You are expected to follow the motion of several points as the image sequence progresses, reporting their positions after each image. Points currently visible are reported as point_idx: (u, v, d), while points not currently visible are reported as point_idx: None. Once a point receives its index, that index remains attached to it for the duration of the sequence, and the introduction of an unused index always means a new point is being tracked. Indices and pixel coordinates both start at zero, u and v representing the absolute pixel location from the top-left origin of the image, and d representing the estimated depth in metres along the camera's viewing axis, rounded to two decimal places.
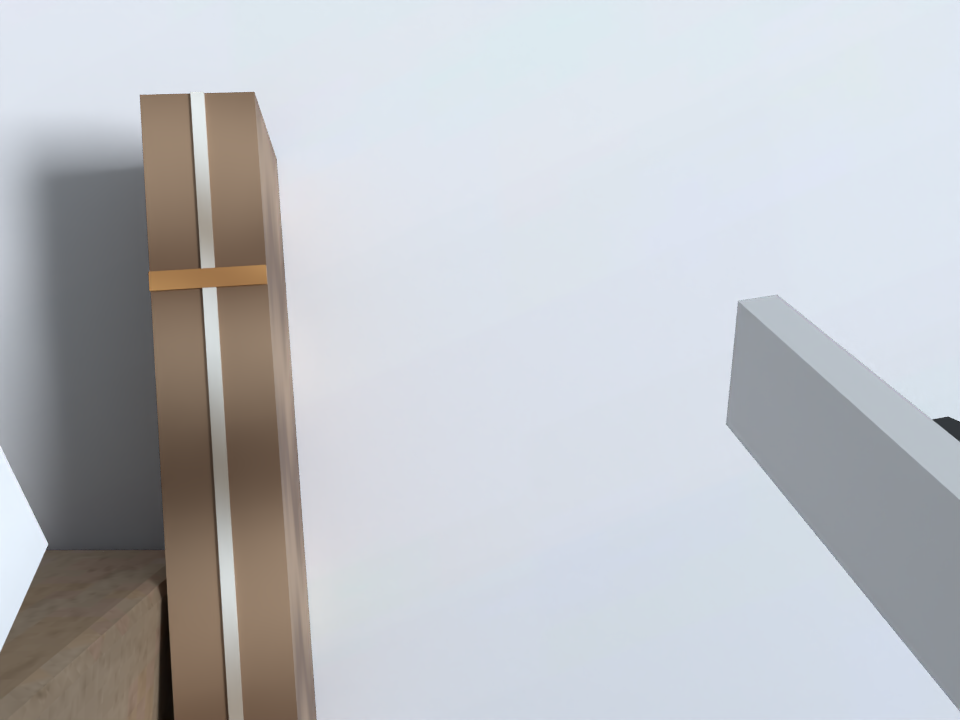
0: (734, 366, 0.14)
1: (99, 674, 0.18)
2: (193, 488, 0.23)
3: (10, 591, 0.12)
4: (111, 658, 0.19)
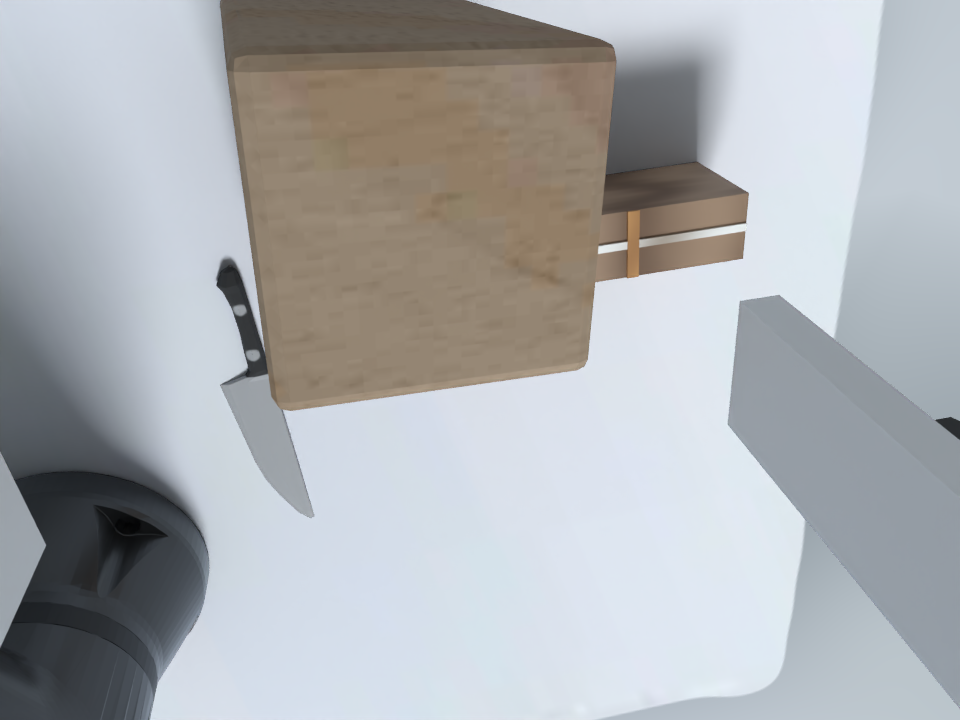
0: (735, 366, 0.14)
1: None
2: None
3: (8, 592, 0.12)
4: None
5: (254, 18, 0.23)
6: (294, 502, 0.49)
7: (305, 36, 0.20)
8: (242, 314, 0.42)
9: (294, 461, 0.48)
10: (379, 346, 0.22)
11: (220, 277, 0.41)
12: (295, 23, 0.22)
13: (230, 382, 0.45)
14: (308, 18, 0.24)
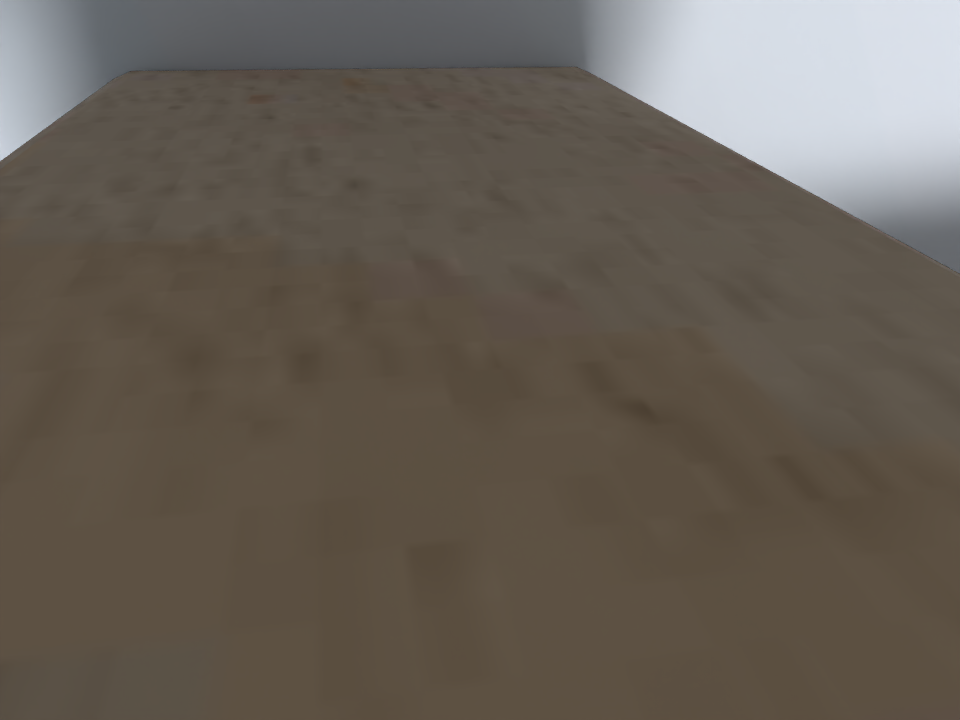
0: None
1: None
2: None
3: None
4: None
5: None
6: None
7: None
8: None
9: None
10: None
11: None
12: None
13: None
14: (43, 420, 0.04)
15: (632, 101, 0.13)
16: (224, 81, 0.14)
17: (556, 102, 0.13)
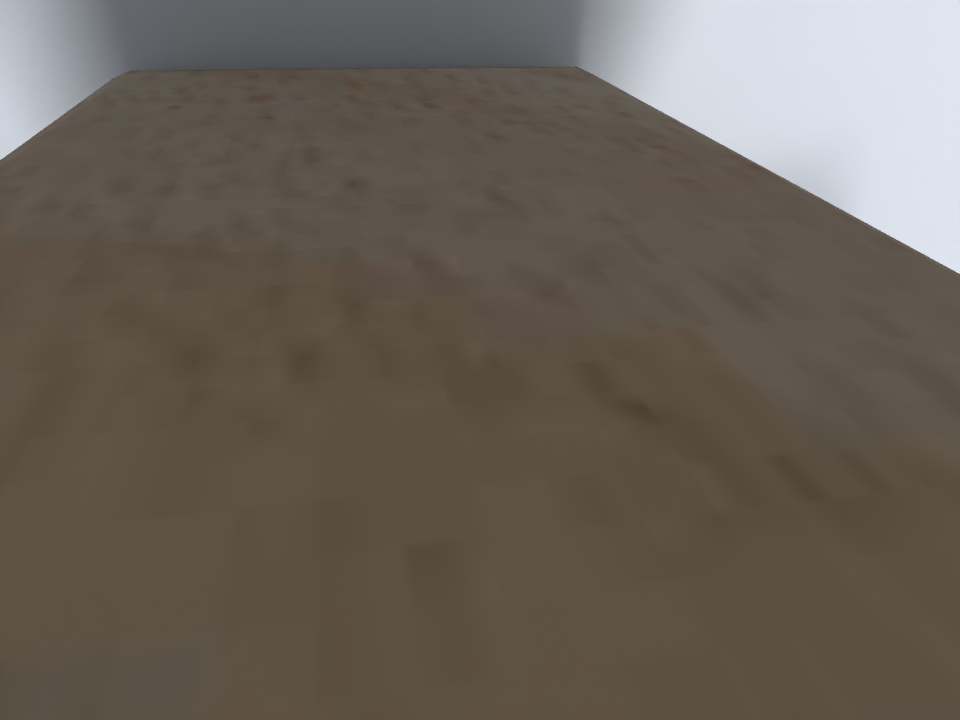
0: None
1: None
2: None
3: None
4: None
5: None
6: None
7: None
8: None
9: None
10: None
11: None
12: None
13: None
14: (41, 420, 0.04)
15: (631, 101, 0.13)
16: (223, 81, 0.14)
17: (555, 102, 0.13)
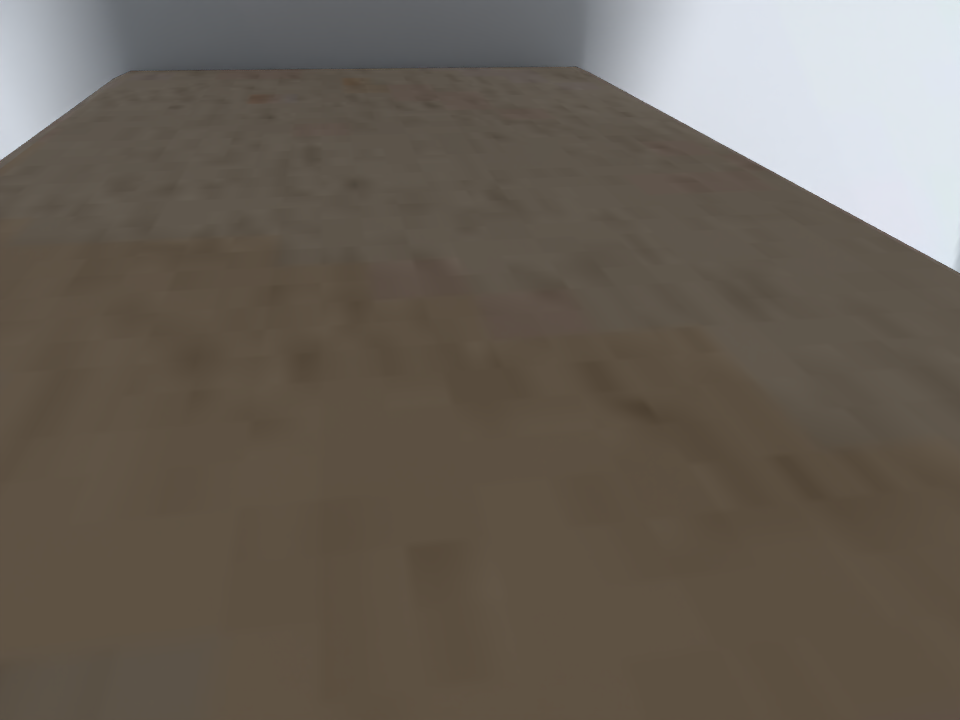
0: None
1: None
2: None
3: None
4: None
5: None
6: None
7: None
8: None
9: None
10: None
11: None
12: None
13: None
14: (43, 420, 0.04)
15: (632, 101, 0.13)
16: (224, 81, 0.14)
17: (556, 102, 0.13)
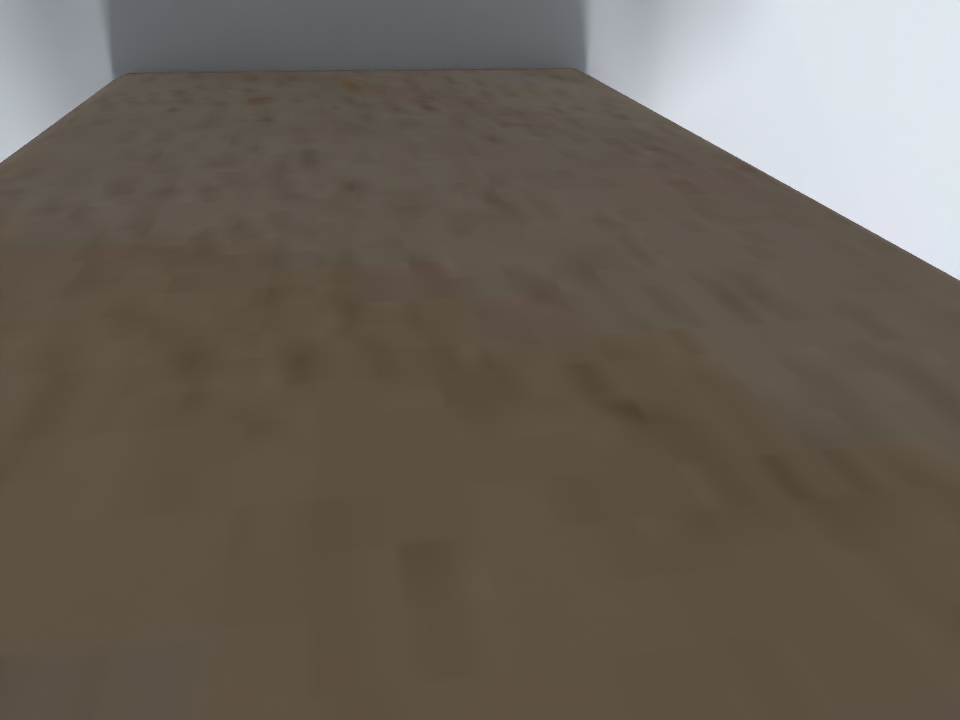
0: None
1: None
2: None
3: None
4: None
5: None
6: None
7: None
8: None
9: None
10: None
11: None
12: None
13: None
14: (41, 420, 0.04)
15: (628, 103, 0.13)
16: (223, 83, 0.14)
17: (553, 104, 0.13)
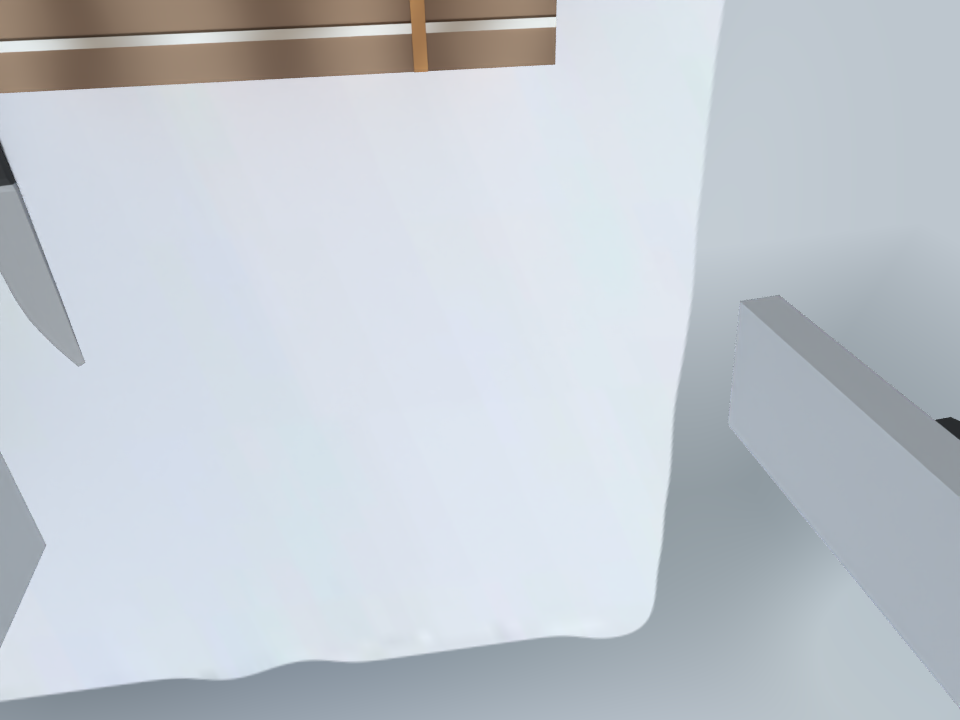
0: (736, 366, 0.14)
1: None
2: (261, 13, 0.32)
3: (8, 592, 0.12)
4: None
5: None
6: (63, 352, 0.44)
7: None
8: None
9: (56, 300, 0.42)
10: None
11: None
12: None
13: None
14: None
15: None
16: None
17: None
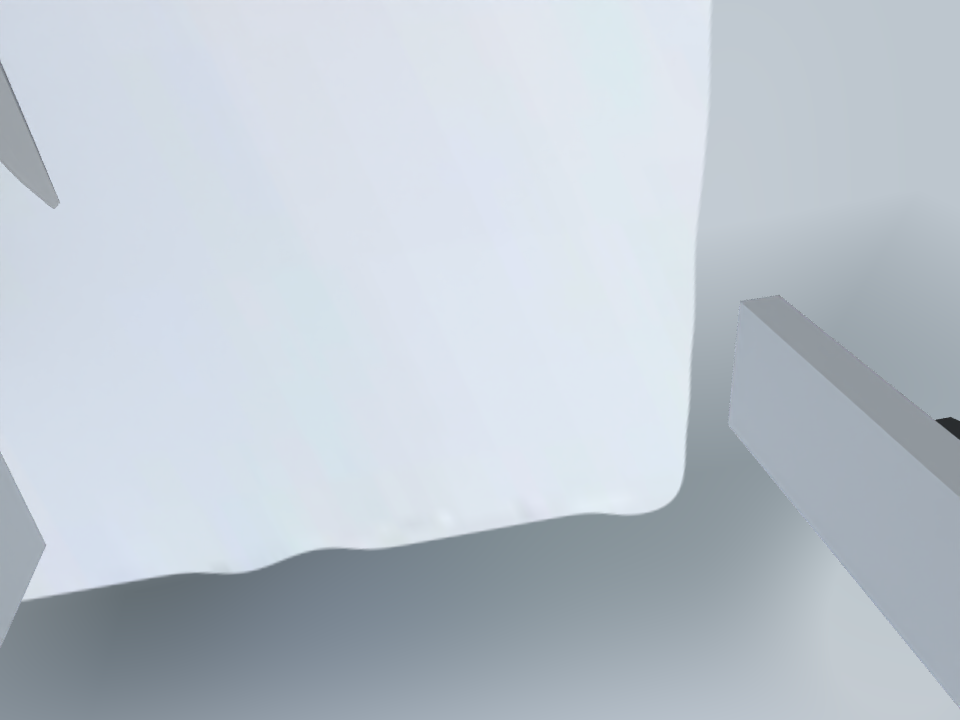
0: (736, 366, 0.14)
1: None
2: None
3: (8, 592, 0.12)
4: None
5: None
6: (35, 191, 0.41)
7: None
8: None
9: (23, 128, 0.39)
10: None
11: None
12: None
13: None
14: None
15: None
16: None
17: None
